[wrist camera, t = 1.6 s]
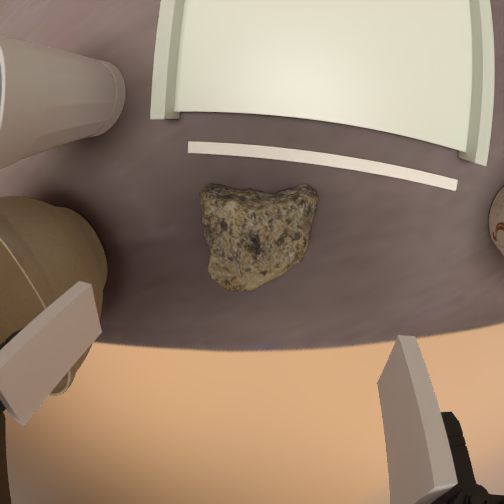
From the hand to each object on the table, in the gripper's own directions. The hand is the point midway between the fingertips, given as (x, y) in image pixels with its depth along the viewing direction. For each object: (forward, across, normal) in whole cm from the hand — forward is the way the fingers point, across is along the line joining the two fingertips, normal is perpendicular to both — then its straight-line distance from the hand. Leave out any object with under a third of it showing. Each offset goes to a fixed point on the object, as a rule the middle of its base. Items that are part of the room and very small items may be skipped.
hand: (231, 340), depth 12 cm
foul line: (+11, +4, +6) cm, 13 cm away
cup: (+11, -14, +10) cm, 21 cm away
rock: (+12, -1, +1) cm, 12 cm away
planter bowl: (+11, -18, -4) cm, 22 cm away
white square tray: (+11, +3, +18) cm, 21 cm away
